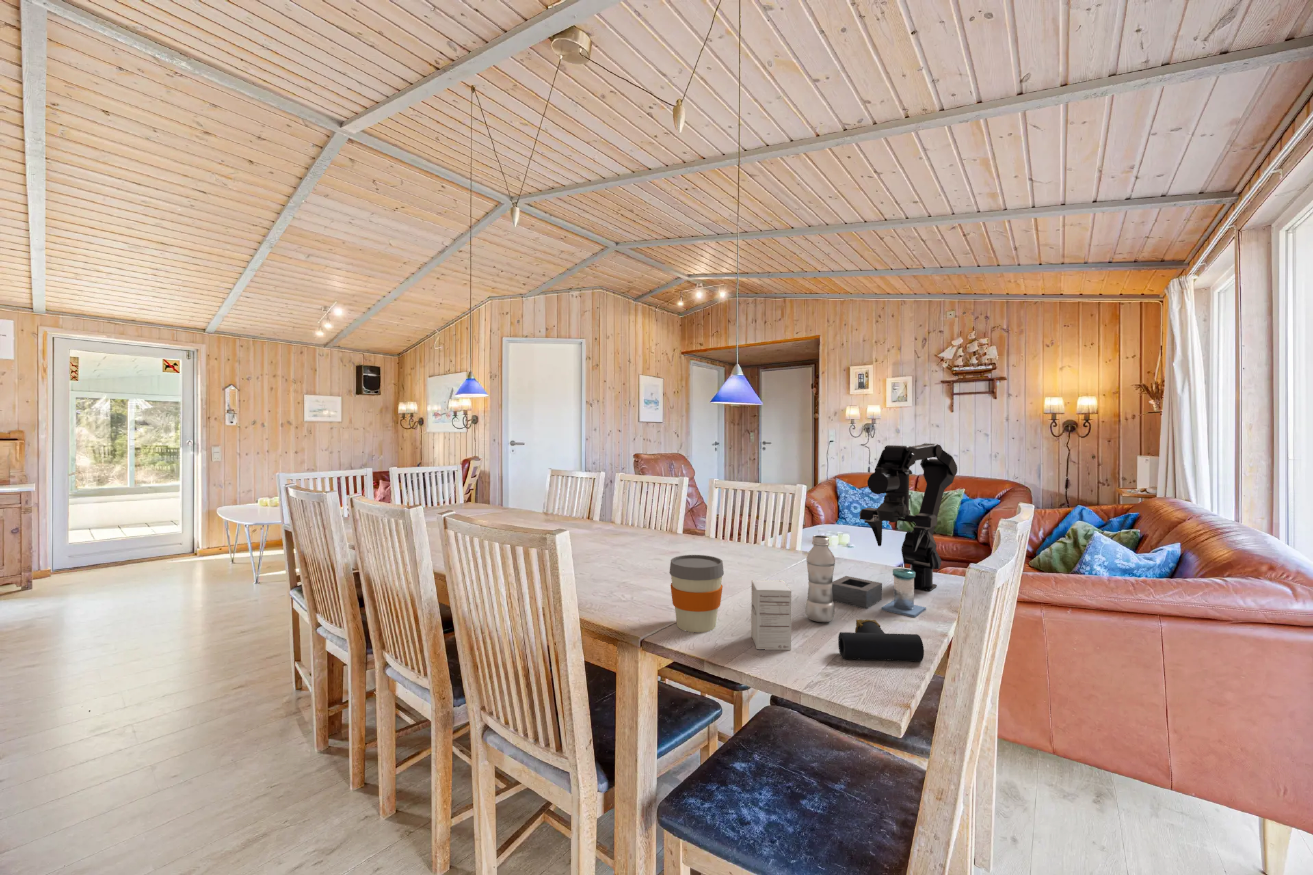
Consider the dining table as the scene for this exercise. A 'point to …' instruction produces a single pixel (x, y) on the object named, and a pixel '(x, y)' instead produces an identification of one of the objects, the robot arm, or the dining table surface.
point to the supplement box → (771, 615)
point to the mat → (911, 613)
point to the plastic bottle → (820, 580)
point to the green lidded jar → (903, 588)
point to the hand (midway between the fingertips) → (896, 548)
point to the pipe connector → (879, 644)
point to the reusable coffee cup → (696, 591)
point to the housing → (856, 592)
